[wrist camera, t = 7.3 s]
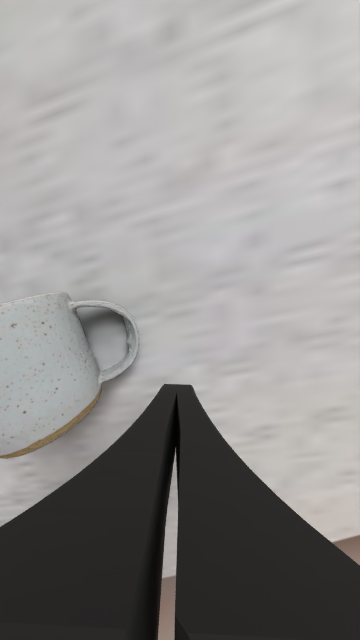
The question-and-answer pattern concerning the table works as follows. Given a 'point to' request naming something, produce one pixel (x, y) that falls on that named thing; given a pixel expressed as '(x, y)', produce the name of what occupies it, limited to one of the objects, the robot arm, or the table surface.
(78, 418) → the ceramic mug
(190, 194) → the table surface
